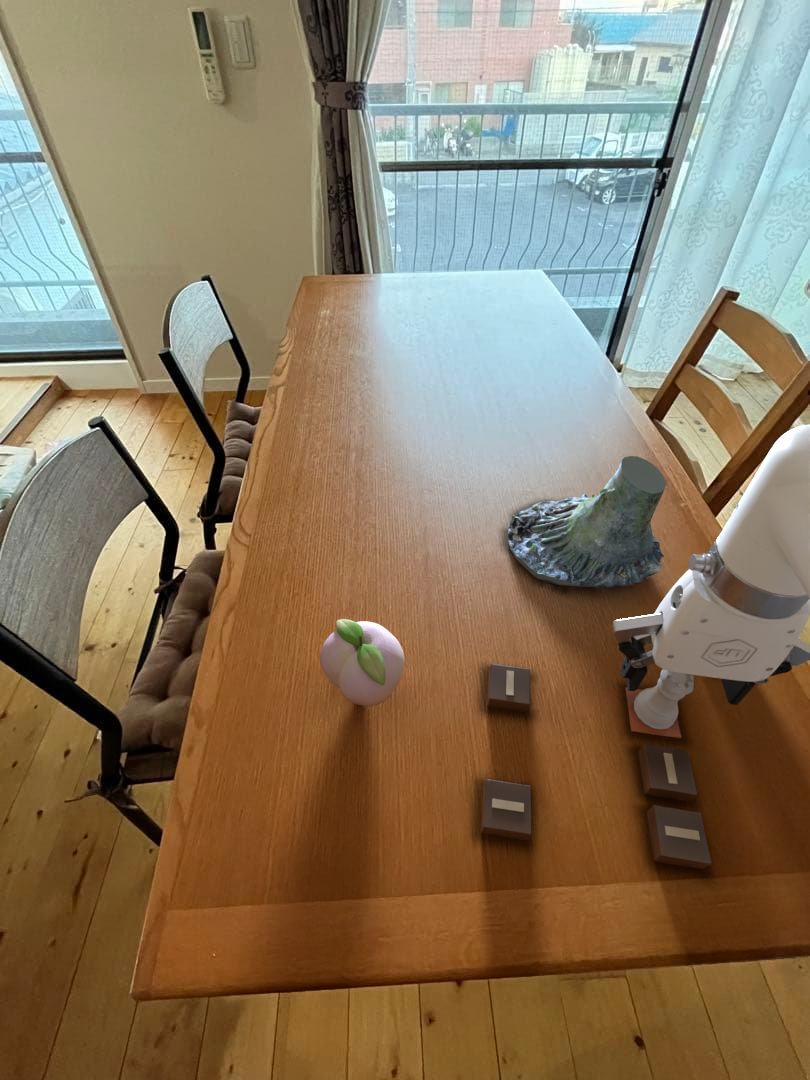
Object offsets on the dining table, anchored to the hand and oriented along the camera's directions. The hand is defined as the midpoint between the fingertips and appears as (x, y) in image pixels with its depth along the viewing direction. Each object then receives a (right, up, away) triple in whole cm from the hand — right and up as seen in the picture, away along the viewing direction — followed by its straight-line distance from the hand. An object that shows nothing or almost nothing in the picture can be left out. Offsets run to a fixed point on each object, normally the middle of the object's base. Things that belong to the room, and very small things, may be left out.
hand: (678, 684), depth 56 cm
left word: (-17, -7, +2) cm, 19 cm away
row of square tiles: (-1, -9, +1) cm, 9 cm away
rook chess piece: (0, -5, +5) cm, 7 cm away
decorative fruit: (-32, -2, +7) cm, 33 cm away
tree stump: (-3, +14, +23) cm, 27 cm away
